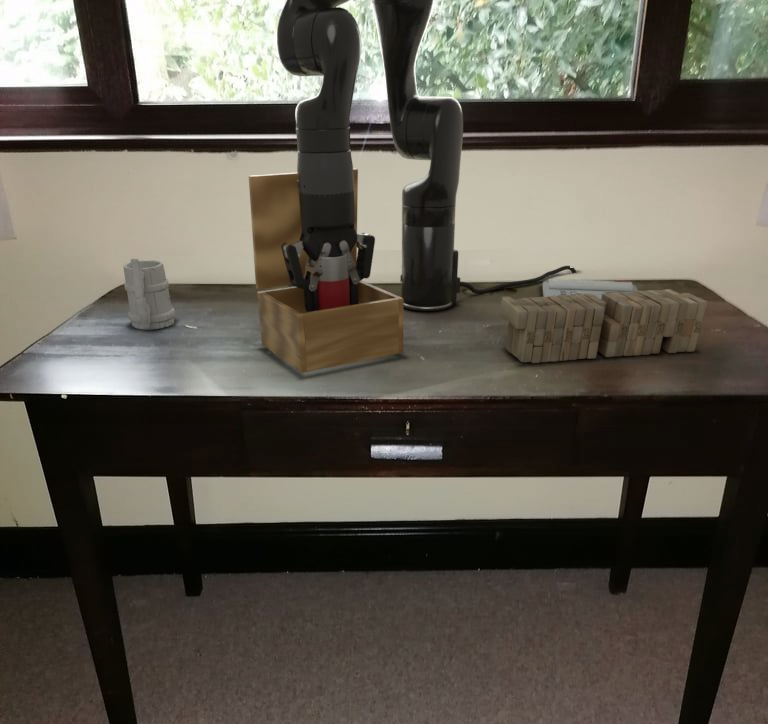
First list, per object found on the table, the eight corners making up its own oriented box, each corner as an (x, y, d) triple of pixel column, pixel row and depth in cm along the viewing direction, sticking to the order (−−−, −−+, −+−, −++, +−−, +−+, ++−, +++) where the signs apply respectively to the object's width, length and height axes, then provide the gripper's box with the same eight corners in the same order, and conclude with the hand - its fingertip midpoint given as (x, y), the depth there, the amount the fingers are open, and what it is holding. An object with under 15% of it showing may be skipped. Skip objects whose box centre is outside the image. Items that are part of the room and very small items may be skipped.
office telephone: (542, 274, 142) (648, 277, 140) (541, 287, 144) (645, 291, 141) (544, 304, 123) (667, 308, 120) (543, 319, 124) (664, 324, 121)
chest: (403, 357, 108) (403, 298, 104) (302, 378, 101) (297, 315, 97) (356, 332, 119) (355, 277, 114) (262, 349, 112) (257, 291, 107)
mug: (179, 316, 128) (168, 245, 121) (169, 337, 118) (157, 260, 111) (134, 318, 127) (121, 246, 121) (121, 339, 117) (106, 262, 111)
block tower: (667, 342, 116) (494, 348, 111) (680, 288, 112) (500, 292, 107) (694, 357, 110) (512, 365, 104) (709, 301, 105) (519, 306, 100)
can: (341, 328, 112) (337, 247, 105) (357, 338, 108) (355, 254, 101) (309, 334, 109) (304, 252, 103) (325, 344, 105) (320, 259, 99)
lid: (358, 169, 105) (341, 162, 109) (250, 176, 98) (236, 169, 102) (356, 275, 114) (340, 265, 118) (257, 289, 107) (244, 278, 111)
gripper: (288, 196, 92) (298, 327, 101) (385, 186, 98) (387, 310, 107) (266, 189, 97) (277, 313, 106) (359, 180, 104) (362, 299, 112)
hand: (332, 311), depth 107 cm, fingers closed on can, 5 cm apart
